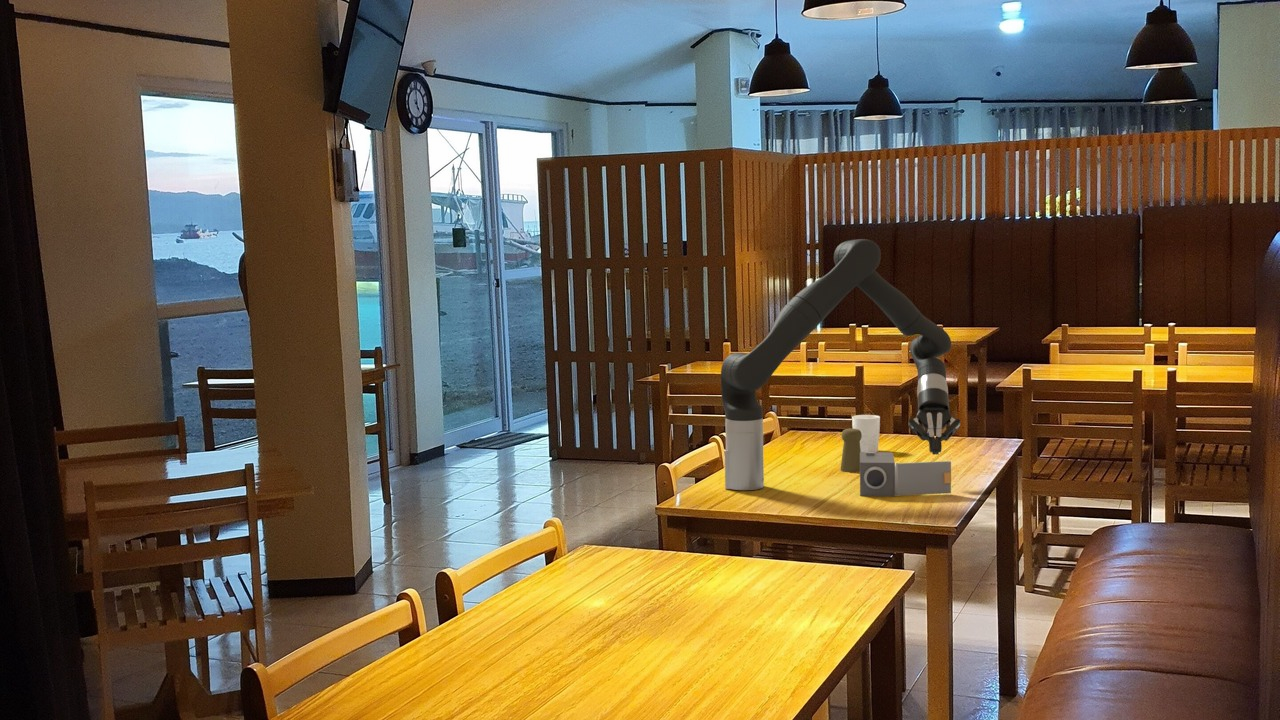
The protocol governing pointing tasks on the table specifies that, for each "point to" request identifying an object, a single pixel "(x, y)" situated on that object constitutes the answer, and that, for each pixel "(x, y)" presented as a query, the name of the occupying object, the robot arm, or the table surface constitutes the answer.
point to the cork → (851, 450)
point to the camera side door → (922, 478)
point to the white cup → (867, 431)
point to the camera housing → (877, 474)
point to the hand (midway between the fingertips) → (935, 452)
